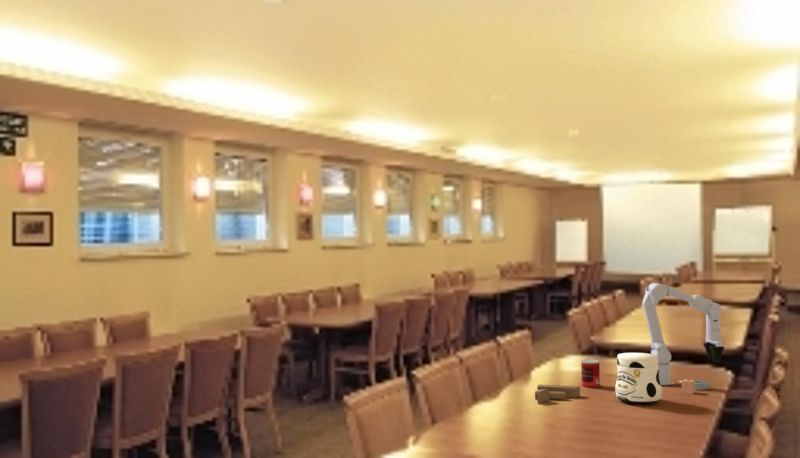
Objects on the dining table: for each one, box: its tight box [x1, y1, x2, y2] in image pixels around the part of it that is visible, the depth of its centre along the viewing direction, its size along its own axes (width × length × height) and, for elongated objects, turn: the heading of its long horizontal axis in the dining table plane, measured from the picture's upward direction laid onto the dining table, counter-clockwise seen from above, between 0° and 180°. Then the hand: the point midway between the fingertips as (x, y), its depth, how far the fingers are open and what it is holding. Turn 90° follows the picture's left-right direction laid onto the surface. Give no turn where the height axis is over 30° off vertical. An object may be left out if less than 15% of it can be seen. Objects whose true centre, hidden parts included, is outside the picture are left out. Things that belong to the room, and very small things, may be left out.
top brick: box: [681, 378, 696, 395], centre depth 291 cm, size 4×4×5 cm
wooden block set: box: [534, 384, 581, 405], centre depth 282 cm, size 17×6×18 cm
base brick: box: [695, 379, 711, 391], centre depth 299 cm, size 7×7×3 cm
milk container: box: [614, 352, 663, 405], centre depth 277 cm, size 17×17×18 cm
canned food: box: [580, 358, 601, 389], centre depth 307 cm, size 8×8×11 cm
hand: (713, 360), depth 308 cm, fingers open, 7 cm apart
